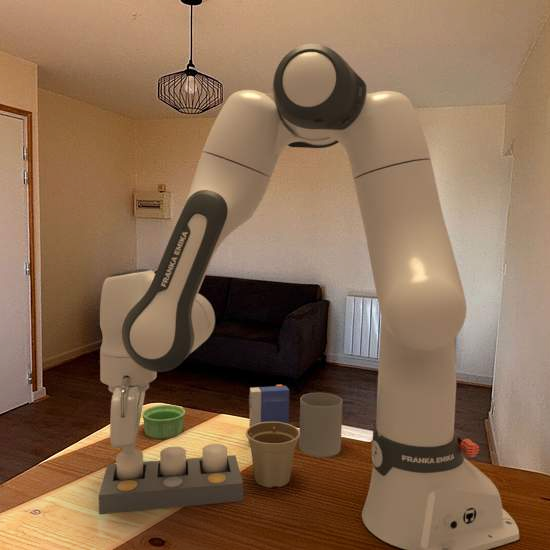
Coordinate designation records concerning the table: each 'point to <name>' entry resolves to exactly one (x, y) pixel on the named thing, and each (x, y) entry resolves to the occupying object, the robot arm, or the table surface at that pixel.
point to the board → (170, 487)
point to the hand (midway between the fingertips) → (129, 450)
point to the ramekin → (163, 421)
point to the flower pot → (272, 452)
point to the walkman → (269, 404)
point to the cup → (320, 424)
